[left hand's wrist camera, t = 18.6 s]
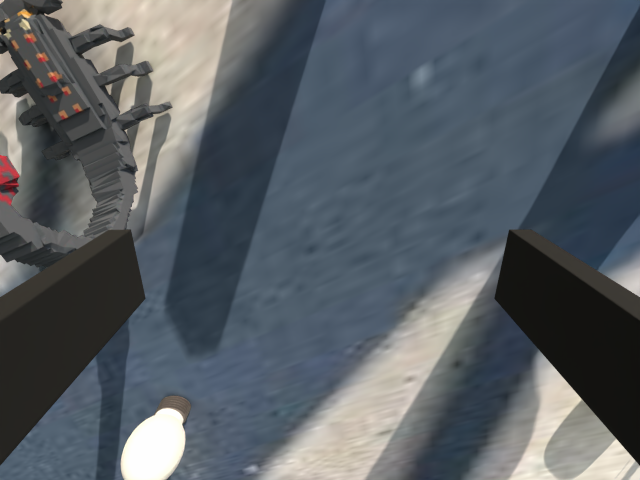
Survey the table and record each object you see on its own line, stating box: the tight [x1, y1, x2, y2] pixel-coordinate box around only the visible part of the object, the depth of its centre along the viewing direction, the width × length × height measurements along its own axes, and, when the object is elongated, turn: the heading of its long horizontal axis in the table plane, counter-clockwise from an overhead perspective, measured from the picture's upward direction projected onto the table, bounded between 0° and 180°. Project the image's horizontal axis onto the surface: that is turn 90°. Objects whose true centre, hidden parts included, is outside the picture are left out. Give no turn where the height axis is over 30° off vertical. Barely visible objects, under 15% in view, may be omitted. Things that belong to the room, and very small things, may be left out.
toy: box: [0, 0, 172, 267], centre depth 26 cm, size 13×27×18 cm, turn 22°
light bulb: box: [121, 396, 191, 480], centre depth 44 cm, size 7×7×11 cm
